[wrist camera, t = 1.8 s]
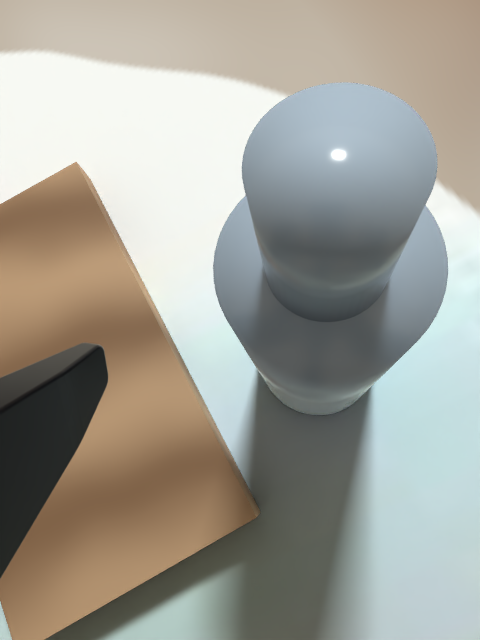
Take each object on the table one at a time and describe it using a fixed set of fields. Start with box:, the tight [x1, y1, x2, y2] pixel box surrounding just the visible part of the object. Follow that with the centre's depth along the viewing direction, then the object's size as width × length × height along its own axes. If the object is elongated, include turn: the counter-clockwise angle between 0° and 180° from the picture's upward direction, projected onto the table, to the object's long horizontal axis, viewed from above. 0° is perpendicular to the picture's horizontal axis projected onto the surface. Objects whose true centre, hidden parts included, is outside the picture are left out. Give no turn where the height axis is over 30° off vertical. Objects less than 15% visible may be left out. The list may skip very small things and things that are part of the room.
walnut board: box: [0, 162, 260, 640], centre depth 20 cm, size 18×10×2 cm, turn 29°
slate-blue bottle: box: [213, 83, 448, 415], centre depth 13 cm, size 5×5×14 cm
